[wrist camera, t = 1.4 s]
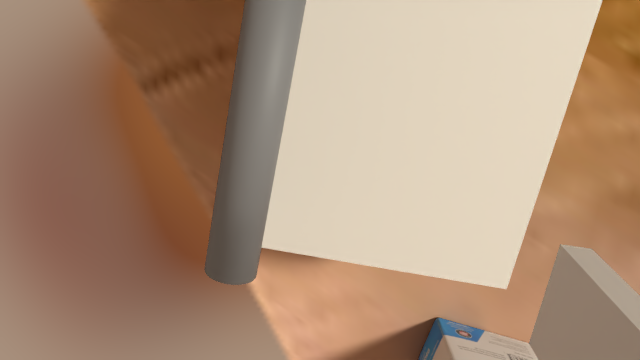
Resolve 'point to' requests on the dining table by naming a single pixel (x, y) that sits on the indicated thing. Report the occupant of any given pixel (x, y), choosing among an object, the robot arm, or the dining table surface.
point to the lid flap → (393, 132)
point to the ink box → (471, 344)
